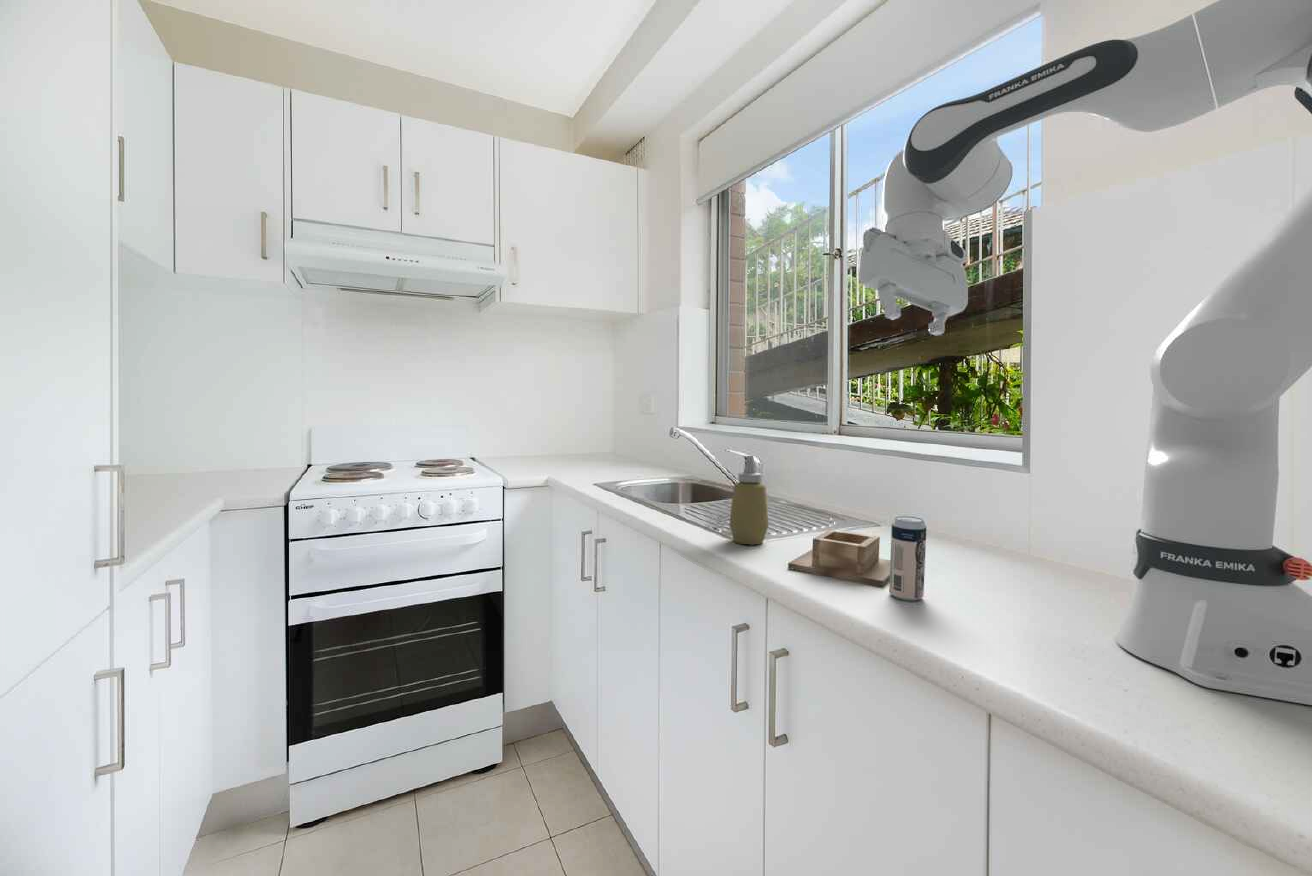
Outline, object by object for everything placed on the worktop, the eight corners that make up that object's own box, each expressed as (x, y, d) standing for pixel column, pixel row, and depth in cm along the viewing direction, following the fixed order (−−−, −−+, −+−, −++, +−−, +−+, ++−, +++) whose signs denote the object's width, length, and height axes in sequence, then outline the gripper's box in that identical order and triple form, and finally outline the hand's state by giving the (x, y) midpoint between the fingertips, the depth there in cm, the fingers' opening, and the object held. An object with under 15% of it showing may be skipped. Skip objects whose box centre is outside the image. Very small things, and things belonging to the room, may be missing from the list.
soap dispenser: (727, 536, 123) (728, 453, 122) (765, 537, 123) (767, 454, 122) (730, 546, 115) (732, 457, 114) (771, 547, 115) (773, 458, 114)
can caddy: (902, 567, 102) (903, 537, 101) (882, 587, 91) (884, 553, 91) (814, 552, 111) (815, 524, 111) (788, 568, 101) (788, 537, 100)
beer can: (926, 603, 84) (930, 523, 83) (892, 601, 85) (895, 521, 84) (918, 592, 89) (922, 516, 88) (886, 590, 90) (889, 514, 89)
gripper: (880, 212, 84) (881, 298, 80) (974, 255, 92) (978, 335, 89) (848, 233, 89) (848, 315, 86) (939, 272, 98) (942, 348, 94)
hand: (915, 325), depth 87 cm, fingers open, 8 cm apart
